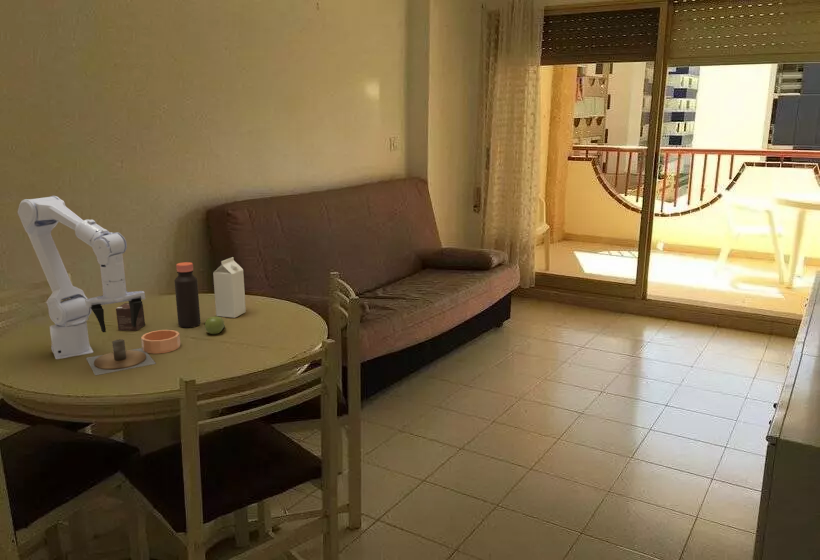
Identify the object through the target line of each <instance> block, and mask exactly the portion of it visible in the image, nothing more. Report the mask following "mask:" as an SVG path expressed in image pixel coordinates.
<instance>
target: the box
mask: <svg viewBox="0 0 820 560" xmlns="http://www.w3.org/2000/svg"><path fill="white" fill-rule="evenodd" d="M115 314H116V320H117V328H118V331H135V332H136V331H138V330H140V329H141V328H143V327H144V326H145V325H146V321H145V311H144V304H143V303H142V306H141V308H140V310H139V313H138V317H137V322H136V327H133V326H132V324H131V312H130V306H129V302H128V303H127V302H125V303H122V304H121V305H120V306H118V307H115Z"/></svg>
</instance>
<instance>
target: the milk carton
mask: <svg viewBox="0 0 820 560" xmlns="http://www.w3.org/2000/svg"><path fill="white" fill-rule="evenodd" d="M234 258H235V257H233V256H232V257H229V258H226V259H224V260H221V261H220V263H221V264H220V266H218V267H217V268H216V270H214V271H213V274H212V275H213V277H212V278H213V285H214V286H213V287H214V288H213V289H214V290H213V292H214V302H215V315H216V317H221V318H223V317H224V318H233V319H235V318H237V317H239V316H241V315H243V314H244V313H246V312H247V309H246V294H245V278H244V277H245V276H244V269H243V268H242V267H241V266H240V264H239V263H237V262H236V261H235V260H234Z"/></svg>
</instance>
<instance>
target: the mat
mask: <svg viewBox="0 0 820 560" xmlns="http://www.w3.org/2000/svg"><path fill="white" fill-rule="evenodd" d="M132 350H133V351H140V352H143V353H145V354H146V360H145V361H144V362H142V363H140V364H138V365H135V366H132V367H128V368H123V369H115V370H106V369H100V368H97V367H95V366H94V361H95V359H97V358H98V357H100V356H102V355H103V354H100V355H96V356H95V355H94V356H90V357H89V356H88V357H86V358H85V360H86V361H87V362H88V364H89V365H88V366H89V367H90V369H91V371H92V372H93V374H94V376H100V375H104V374H111V373H115V372H116V373H117V372H120V371H126V370H131V369H135V368H141V367H142V368H143V367H147V366H152V365H156V362H155V360H154V359H153V358H152V357H151V355H149V354H150V353H147V352H145V351H143V348H142V347H139V348H134V349H132Z"/></svg>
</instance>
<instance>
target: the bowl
mask: <svg viewBox="0 0 820 560" xmlns="http://www.w3.org/2000/svg"><path fill="white" fill-rule="evenodd" d="M140 341H141V348H143V351H145V352H147V353H148V354H153V355H155V354H164V353H165V354H166V353H170V352H173V351H177V350H178V349H180V347H181V335H180V332H179V331H178V330H172V329H159V330H153V331H150V332H146V333H144V334H143V335H142V336H141V337H140Z"/></svg>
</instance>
